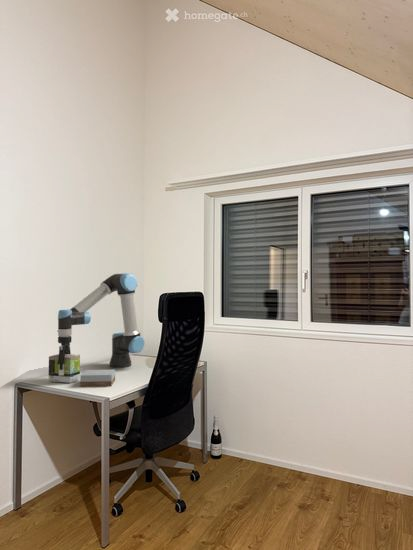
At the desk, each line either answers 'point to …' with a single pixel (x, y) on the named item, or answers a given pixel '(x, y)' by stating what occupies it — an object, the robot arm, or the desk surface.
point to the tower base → (97, 383)
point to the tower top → (97, 375)
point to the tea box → (65, 368)
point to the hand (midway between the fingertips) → (64, 372)
